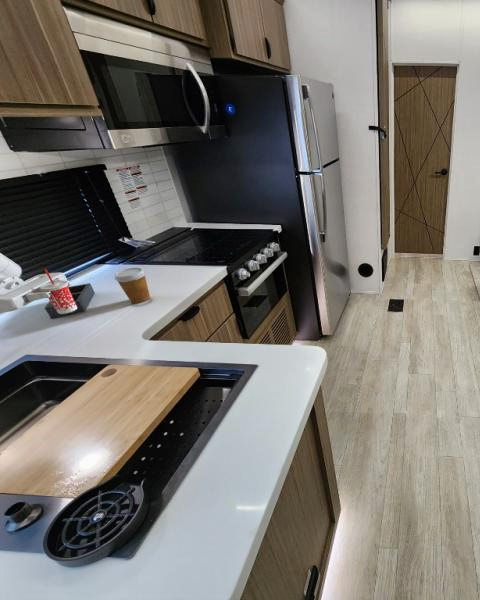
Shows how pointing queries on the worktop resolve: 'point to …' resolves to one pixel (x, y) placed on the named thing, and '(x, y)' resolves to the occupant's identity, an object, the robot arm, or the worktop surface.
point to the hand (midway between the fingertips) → (59, 289)
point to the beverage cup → (60, 295)
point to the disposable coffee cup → (133, 284)
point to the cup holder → (81, 299)
